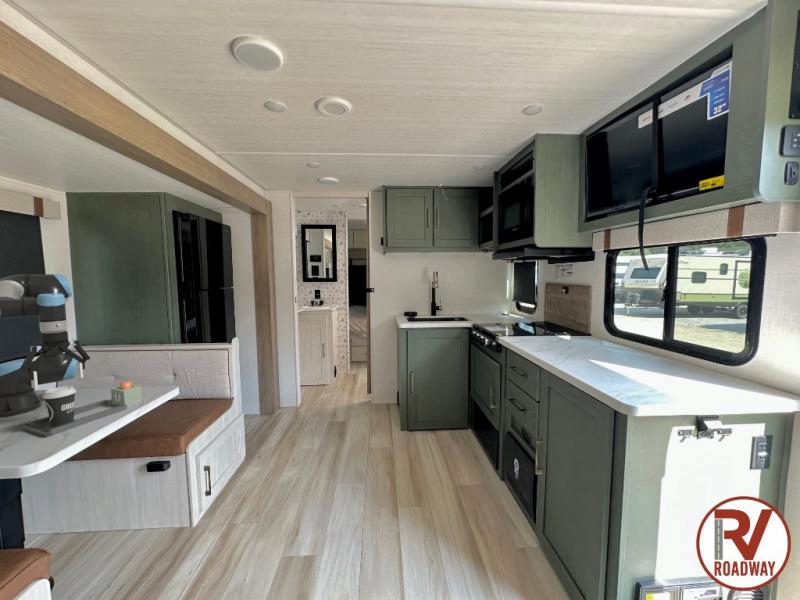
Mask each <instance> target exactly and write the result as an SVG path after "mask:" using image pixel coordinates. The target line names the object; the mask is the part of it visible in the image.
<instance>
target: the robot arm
mask: <svg viewBox="0 0 800 600" xmlns="http://www.w3.org/2000/svg"><path fill="white" fill-rule="evenodd" d="M68 279H69V278H68V277H67V276H66V275H64V274H53V273H52V274H47V273H46V274H45V273H44V274H40V273H39V274H34V273H33V274H32V273H31V274H26V273H24V274H15V275H14V274H13V275H9V276H5V277H3V278H0V320H1V319H2V320H3V319H14V318H15V319H16V318H29V317H31V318H32V317H38V319H39V320H38V321H39V322H38V324H39V331H40V332H41V333H40V335H39V336H40V345H37V346H36V345H35V346H34V345H31V346H29V352H28V354H27V355H26V356H25V358H19V359H14V360H11V361H6V362H2V363H0V419H3V418H10V417H15V416H18V415H23V414H27V413H30V412H33V411H36V410H37V408H38V409H40V408H41V407H43V404H42V403H43V402H42V400H41V398H40V397H39V396H38V394H37V393H36V391H35V389H38V388H39V386H40V385H47V384H51V383H52V384H53V383H57V382H58V383H59V382H64V381H68V380H73V379H74V378H76V376H77V378H79V379H82V378H84V372H83V371H84V370H85V369H86V362H87V361H88V360H90V359H91V356H89V354H88V353H87V352H86V351H85V349H84V348H83V347H82V346H81V344H80V341H79V340H77V339H73V340H72V341H69V333H68V320H67V308H66V303H67V302H68V301H69V298H71V297H72V294H73V293H72V290H71V286H70V282H69V280H68ZM70 345H71V346H73V348H74V350H76V351H77V353H78V354H79V355H78V354H77V353H75V352H74V351H72V350H71V349H70V347H69V346H70ZM40 350H41V351H42V352H40V353H39V356H38V357H36V359H35V360H34V358H35V356H36V355H37V352H39V351H40ZM39 407H40V408H39Z"/></svg>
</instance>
